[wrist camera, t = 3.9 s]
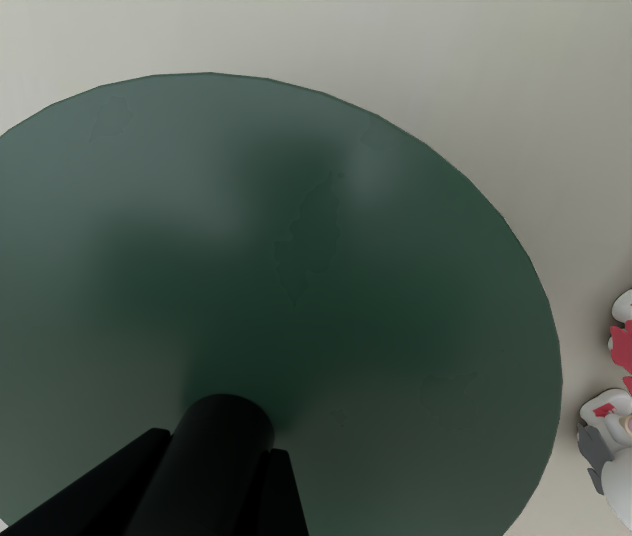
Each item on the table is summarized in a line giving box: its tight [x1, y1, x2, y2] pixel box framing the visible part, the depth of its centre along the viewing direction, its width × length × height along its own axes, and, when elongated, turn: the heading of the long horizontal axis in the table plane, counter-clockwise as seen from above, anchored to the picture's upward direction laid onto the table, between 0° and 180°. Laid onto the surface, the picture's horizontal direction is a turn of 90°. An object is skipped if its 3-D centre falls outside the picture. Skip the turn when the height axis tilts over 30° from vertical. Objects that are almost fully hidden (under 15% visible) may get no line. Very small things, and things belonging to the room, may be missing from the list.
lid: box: [0, 72, 563, 536], centre depth 6 cm, size 16×16×6 cm
